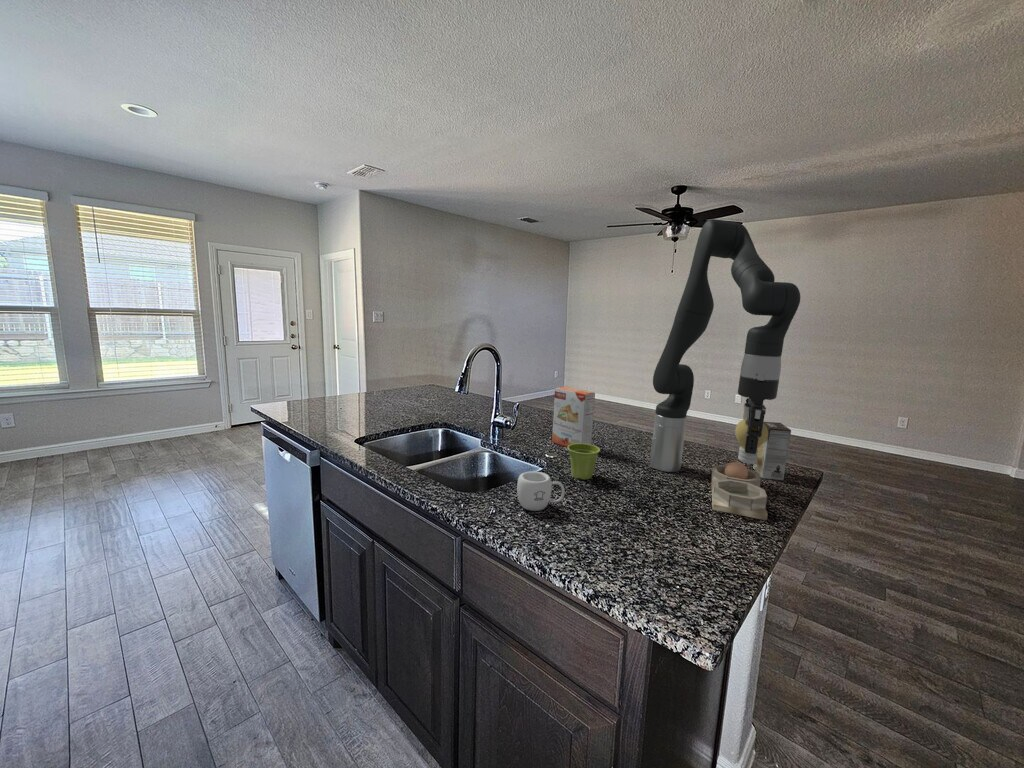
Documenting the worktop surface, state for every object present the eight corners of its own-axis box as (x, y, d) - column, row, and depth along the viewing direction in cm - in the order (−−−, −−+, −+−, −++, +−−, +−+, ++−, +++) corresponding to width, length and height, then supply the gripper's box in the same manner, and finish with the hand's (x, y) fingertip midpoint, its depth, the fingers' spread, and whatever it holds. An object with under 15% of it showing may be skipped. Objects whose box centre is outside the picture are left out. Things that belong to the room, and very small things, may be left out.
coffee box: (751, 468, 143) (758, 420, 140) (773, 470, 142) (780, 422, 139) (761, 478, 134) (769, 427, 131) (784, 480, 133) (792, 429, 130)
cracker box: (550, 442, 161) (554, 387, 158) (561, 440, 166) (565, 385, 162) (580, 452, 151) (585, 393, 148) (591, 449, 155) (595, 391, 152)
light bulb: (725, 457, 102) (731, 415, 100) (751, 457, 102) (757, 416, 100) (741, 466, 95) (748, 422, 94) (769, 467, 96) (776, 423, 94)
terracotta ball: (723, 483, 124) (726, 463, 123) (722, 477, 130) (725, 457, 129) (747, 488, 122) (750, 467, 121) (745, 480, 127) (748, 461, 126)
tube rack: (712, 509, 111) (714, 493, 110) (711, 476, 134) (712, 462, 133) (766, 520, 106) (769, 502, 105) (755, 483, 129) (757, 469, 129)
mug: (519, 514, 104) (520, 483, 102) (513, 499, 112) (515, 470, 111) (568, 513, 105) (570, 482, 104) (559, 498, 114) (561, 469, 112)
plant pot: (576, 484, 124) (578, 454, 122) (559, 472, 132) (561, 444, 131) (604, 480, 127) (606, 451, 126) (586, 468, 136) (588, 442, 134)
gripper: (738, 370, 103) (728, 437, 106) (742, 378, 90) (731, 455, 93) (774, 373, 100) (764, 443, 103) (784, 382, 87) (772, 461, 90)
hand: (748, 448), depth 98 cm, fingers closed on light bulb, 6 cm apart
